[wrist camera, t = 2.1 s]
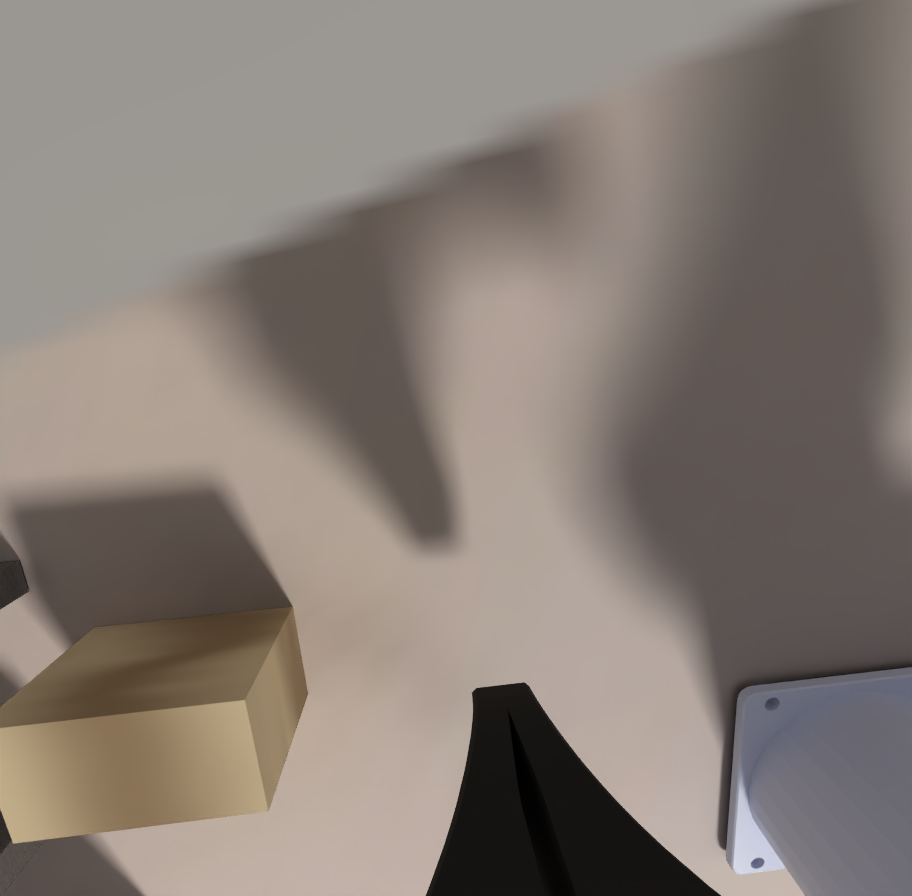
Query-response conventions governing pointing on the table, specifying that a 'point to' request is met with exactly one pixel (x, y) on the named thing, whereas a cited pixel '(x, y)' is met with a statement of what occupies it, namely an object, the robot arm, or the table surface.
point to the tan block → (153, 726)
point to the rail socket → (3, 857)
